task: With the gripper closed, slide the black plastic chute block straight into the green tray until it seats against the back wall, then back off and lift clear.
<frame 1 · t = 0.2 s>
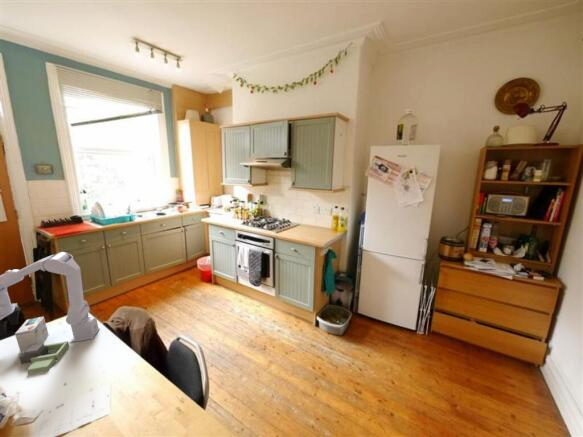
hand: (9, 329, 114), 10 cm above the table, fingers open, 7 cm apart
chute block: (35, 358, 111), on the table
green tray: (51, 355, 112), on the table
light bulb box: (35, 343, 119), on the table
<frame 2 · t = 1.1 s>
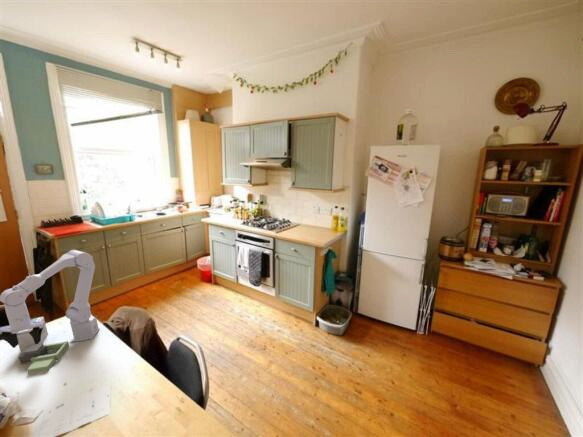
hand: (27, 344, 105), 10 cm above the table, fingers open, 7 cm apart
nothing on the table moved.
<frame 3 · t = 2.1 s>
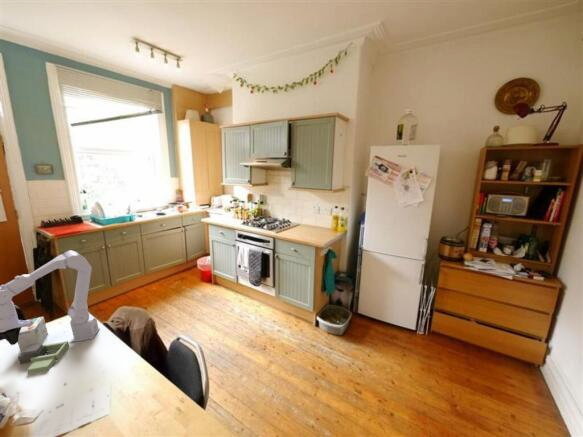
hand: (14, 343, 105), 11 cm above the table, fingers closed
nothing on the table moved.
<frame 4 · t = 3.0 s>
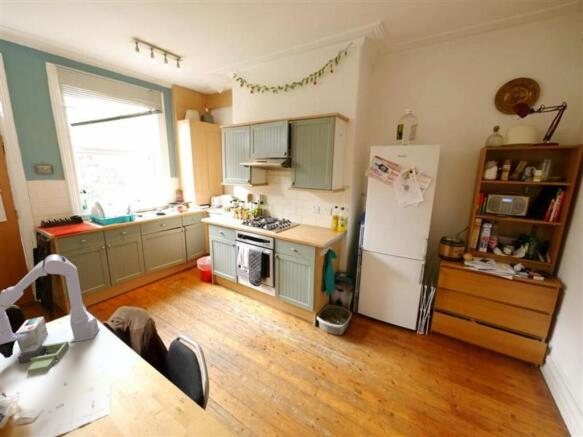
hand: (9, 356, 108), 3 cm above the table, fingers closed
nothing on the table moved.
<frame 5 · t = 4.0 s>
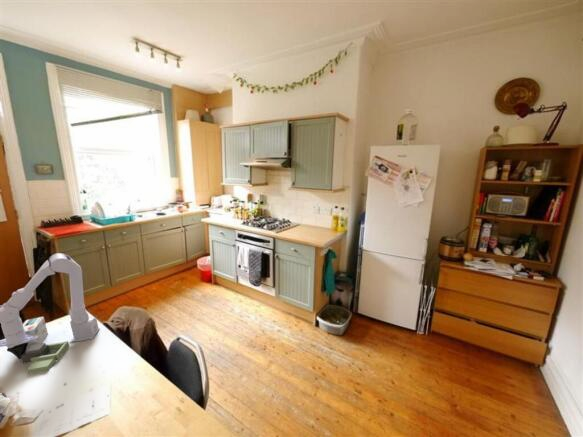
hand: (22, 357, 109), 1 cm above the table, fingers closed
chute block: (37, 357, 111), on the table, touching gripper
everything else where it was.
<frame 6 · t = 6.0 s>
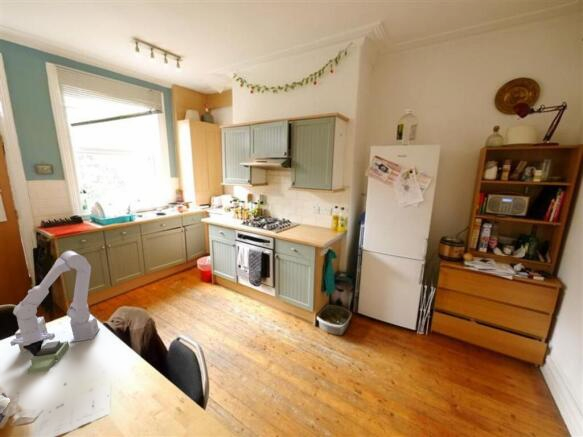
hand: (37, 354, 111), 1 cm above the table, fingers closed
chute block: (51, 355, 112), resting in green tray, touching gripper
everything else where it was.
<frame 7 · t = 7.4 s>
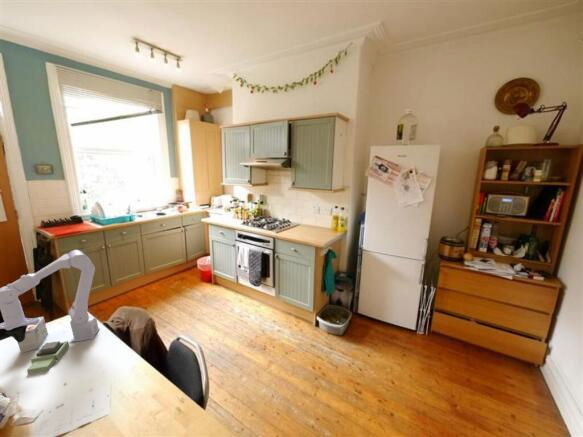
hand: (21, 340, 108), 10 cm above the table, fingers closed
chute block: (51, 355, 112), resting in green tray
everything else where it was.
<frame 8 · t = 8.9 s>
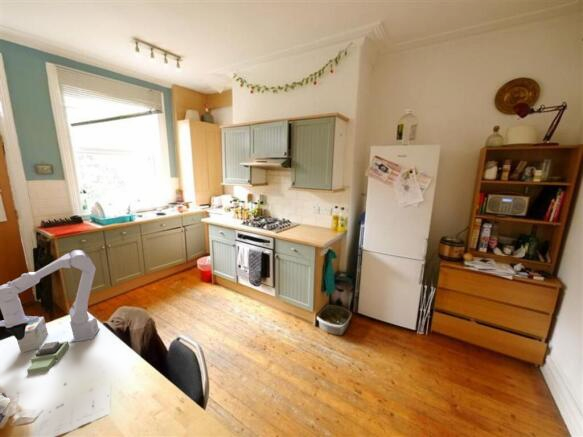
hand: (21, 338, 108), 10 cm above the table, fingers closed
nothing on the table moved.
at the end: chute block 0.2 cm off-centre on the green tray, point 0.0 cm above the green tray's base; chute block tilted 0°; chute block moved 5.5 cm from its start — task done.
